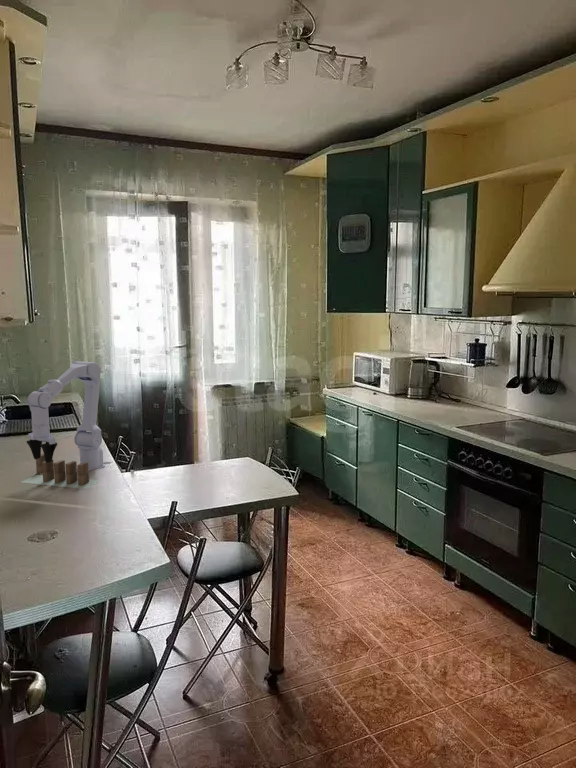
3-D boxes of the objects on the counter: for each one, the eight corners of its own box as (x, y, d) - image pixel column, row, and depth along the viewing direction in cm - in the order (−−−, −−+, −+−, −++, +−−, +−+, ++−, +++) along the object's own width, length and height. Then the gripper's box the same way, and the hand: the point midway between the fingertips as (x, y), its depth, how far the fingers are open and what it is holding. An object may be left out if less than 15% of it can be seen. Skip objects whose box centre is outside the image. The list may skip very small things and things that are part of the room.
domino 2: (50, 478, 222) (49, 459, 221) (54, 478, 222) (53, 459, 221) (43, 481, 218) (42, 462, 217) (46, 482, 217) (45, 462, 216)
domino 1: (44, 472, 232) (43, 453, 231) (47, 472, 232) (46, 453, 231) (36, 475, 228) (35, 456, 227) (40, 475, 227) (39, 456, 226)
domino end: (85, 481, 218) (84, 462, 217) (89, 482, 218) (88, 462, 217) (78, 485, 214) (77, 465, 213) (82, 485, 214) (81, 465, 213)
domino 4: (73, 480, 220) (72, 461, 218) (77, 480, 219) (76, 461, 218) (66, 484, 215) (65, 464, 214) (70, 484, 215) (69, 464, 214)
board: (37, 475, 227) (37, 474, 227) (100, 482, 220) (100, 480, 220) (19, 483, 217) (19, 482, 217) (85, 490, 210) (85, 488, 210)
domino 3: (62, 479, 221) (61, 460, 220) (65, 479, 220) (64, 460, 219) (54, 482, 217) (53, 463, 216) (58, 483, 216) (57, 463, 215)
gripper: (19, 423, 213) (21, 459, 215) (41, 428, 205) (43, 466, 207) (37, 420, 219) (39, 455, 221) (59, 425, 210) (61, 461, 212)
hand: (42, 460), depth 214 cm, fingers open, 7 cm apart
